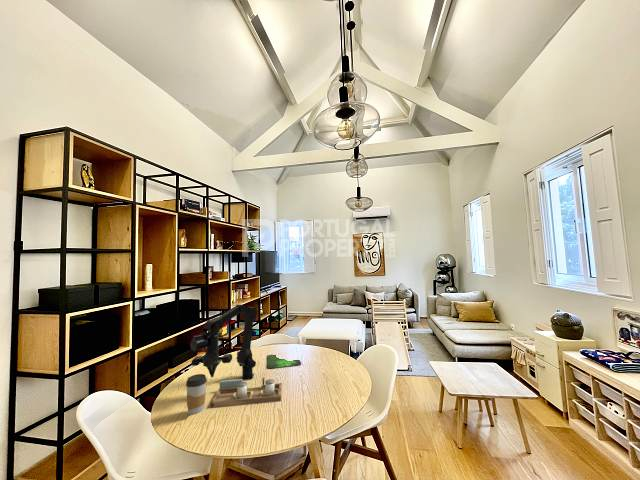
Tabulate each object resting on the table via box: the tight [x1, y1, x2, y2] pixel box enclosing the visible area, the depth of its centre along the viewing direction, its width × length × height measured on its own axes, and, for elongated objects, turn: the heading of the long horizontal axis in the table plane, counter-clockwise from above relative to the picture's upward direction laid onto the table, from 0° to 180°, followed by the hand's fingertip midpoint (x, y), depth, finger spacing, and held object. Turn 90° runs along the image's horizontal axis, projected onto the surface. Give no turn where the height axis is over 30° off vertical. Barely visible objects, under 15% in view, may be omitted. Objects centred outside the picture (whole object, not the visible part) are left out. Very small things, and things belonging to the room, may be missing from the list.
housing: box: [210, 377, 283, 408], centre depth 126 cm, size 16×31×6 cm, turn 97°
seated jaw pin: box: [237, 381, 248, 399], centre depth 124 cm, size 4×4×7 cm
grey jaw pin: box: [264, 378, 276, 397], centre depth 126 cm, size 4×4×7 cm
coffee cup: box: [185, 373, 207, 416], centre depth 115 cm, size 8×8×15 cm
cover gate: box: [219, 378, 243, 389], centre depth 133 cm, size 2×11×4 cm, turn 97°
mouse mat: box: [266, 354, 302, 370], centre depth 176 cm, size 27×22×1 cm
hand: (212, 377), depth 132 cm, fingers closed
